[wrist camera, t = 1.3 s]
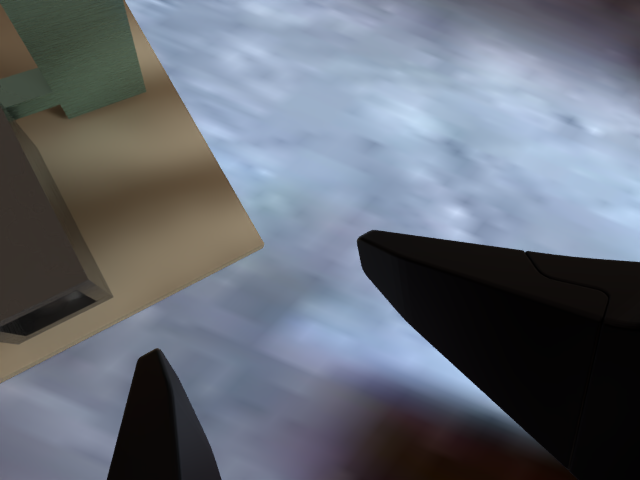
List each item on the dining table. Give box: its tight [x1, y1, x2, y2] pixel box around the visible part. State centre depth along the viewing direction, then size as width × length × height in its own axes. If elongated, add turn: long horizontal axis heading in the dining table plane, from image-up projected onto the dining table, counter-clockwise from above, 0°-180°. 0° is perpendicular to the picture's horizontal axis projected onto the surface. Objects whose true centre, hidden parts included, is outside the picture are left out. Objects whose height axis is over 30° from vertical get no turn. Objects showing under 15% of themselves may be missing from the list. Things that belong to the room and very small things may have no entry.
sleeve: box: [0, 102, 113, 345], centre depth 19 cm, size 8×4×4 cm, turn 31°
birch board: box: [0, 0, 264, 383], centre depth 23 cm, size 22×14×1 cm, turn 31°
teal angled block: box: [0, 0, 146, 120], centre depth 17 cm, size 13×9×11 cm
